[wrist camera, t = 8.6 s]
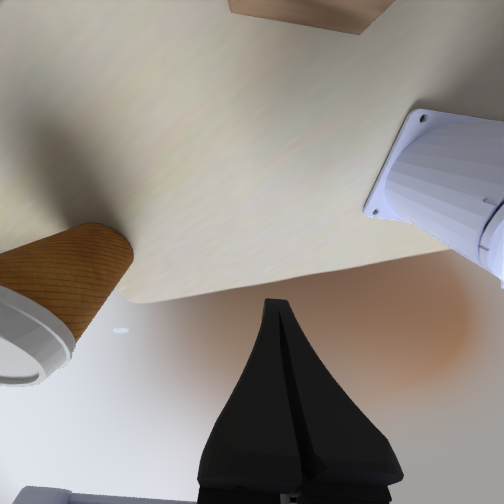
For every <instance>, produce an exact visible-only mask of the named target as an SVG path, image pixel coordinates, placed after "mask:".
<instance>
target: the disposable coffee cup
mask: <svg viewBox="0 0 504 504" xmlns="http://www.w3.org/2000/svg"><path fill="white" fill-rule="evenodd" d="M132 262H133V251H132V249H131V247H130V245H129V243H128V242H127V241H126V239H124V238H123V237H122V236H121V235H120V234H119V233H118V232H116V231H115V230H113V229H111V228H109V227H107V226H105V225H101V224H97V223H86V224H82V225H80V226H77V227H74V228H72V229H69V230H66V231H63V232H60V233H57V234H55V235H52V236H49V237H46V238H43V239H40V240H37V241H35V242H32V243H29V244H26V245H23V246H21V247H18V248H15V249H12V250H9V251H6V252H4V253H1V254H0V385H1V386H9V387H27V386H33V385H37V384H40V383H41V382H43V381H44V380H45V379H46V378H48V377H49V376H50V375H51V374H52V373H53V372H54V371H56V370H58V369H60V368H63V367H65V366H66V365H67V364H68V362H69V361H70V360H71V358H72V353H73V351H74V349H75V347H76V342H77V341H78V339H79V338H80V337H81V335H82V334H83V332H84V331H85V330H86V328H87V326H88V325H89V324H90V323H91V321H92V319H93V318H94V317H95V315H96V314H97V312H98V311H99V310H100V308H101V306H102V305H103V304H104V302H105V301H106V299H107V298H108V296H109V295H110V294H111V292H112V291H113V290H114V288H115V286H116V285H117V284H118V282H119V281H120V279H121V278H122V277H123V275H124V274H125V272H126V271H127V270H128V268H129V267H130V265H131V264H132Z"/></svg>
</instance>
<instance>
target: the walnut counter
mask: <svg viewBox="0 0 504 504" xmlns="http://www.w3.org/2000/svg"><path fill="white" fill-rule="evenodd" d="M394 1H395V0H228V3H229V7H230V11H231V12H232V13H238V14H244V15H249V16H255V17H261V18H266V19H272V20H278V21H283V22H289V23H295V24H300V25H306V26H312V27H317V28H323V29H329V30H334V31H340V32H346V33H351V34H357V35H360V34H361V33H362V32H363V31H364V30H365V29H366V28H367V27H368V26H369V25H370V24H371V23H372V22H373V21H374V20H375V19H376V18H377V17H378V16H379V15H380V14H382V13H383V12H384V11H385V10H386V9H387V8H388V7H389V6H390V5H391V4H392V3H393V2H394Z"/></svg>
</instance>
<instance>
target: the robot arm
mask: <svg viewBox="0 0 504 504" xmlns="http://www.w3.org/2000/svg"><path fill="white" fill-rule="evenodd" d="M422 115H424V119H423V121H422V122H420V117H421V116H422ZM375 209H377V210H376V212H375V213H373V211H374V210H375ZM363 214H364V215H366V216H369V217H376V218H383V219H390V220H397V221H404V222H410V223H411V224H413V225H415V226H416V227H418V228H419V229H421V230H423V231H424V232H426V233H427V234H429V235H431V236H432V237H434V238H435V239H437V240H439V241H440V242H442V243H444V244H445V245H447V246H448V247H450V248H452V249H453V250H455V251H457V252H458V253H460V254H461V255H463V256H464V257H466V258H468V259H469V260H471V261H473V262H474V263H476V264H477V265H479V266H481V267H482V268H484V269H486V270H487V271H489V272H490V273H492V274H493V275H495V276H497V277H498V278H500V280H501V288H503V289H504V121H495V120H489V119H483V118H477V117H471V116H464V115H458V114H452V113H446V112H440V111H434V110H428V109H422V108H420V109H414V110H412V111H411V112H410V113H409V114H408V116H407V118H406V120H405V122H404V124H403V126H402V128H401V130H400V133H399V135H398V137H397V139H396V141H395V143H394V145H393V147H392V149H391V152H390V154H389V156H388V158H387V160H386V162H385V164H384V166H383V169H382V171H381V173H380V175H379V177H378V179H377V181H376V183H375V185H374V188H373V190H372V192H371V194H370V196H369V198H368V200H367V202H366V204H365V207H364V209H363ZM403 477H404V474H403V472H402V469H401V467H400V465H399V462H398V460H397V458H396V455H395V453H394V451H393V449H392V447H391V445H390V443H389V441H388V439H387V438H386V437H385V436H384V435H383V434H382V433H381V432H380V431H379V430H378V429H377V428H376V427H375V426H374V425H373V424H372V422H370V420H369V419H368V418H367V417H366V416H365V415H364V414H363V413H362V411H361V410H360V409H359V408H358V407H357V406H356V405H355V404H354V402H353V401H352V400H351V399H350V398H349V396H348V395H347V394H346V393H345V392H344V390H343V389H342V388H341V387H340V385H338V383H337V382H336V380H335V379H334V378H333V377H332V375H331V374H330V373H329V371H328V370H327V369H326V367H325V366H324V365H323V363H322V362H321V360H320V359H319V357H318V356H317V354H316V353H315V351H314V350H313V348H312V346H311V345H310V343H309V342H308V340H307V338H306V337H305V335H304V333H303V331H302V329H301V327H300V326H299V324H298V322H297V320H296V318H295V316H294V314H293V312H292V309H291V307H290V305H289V302H288V301H287V300H281V299H269V298H267V299H265V302H264V308H263V314H262V323H261V327H260V330H259V333H258V336H257V339H256V342H255V345H254V347H253V350H252V352H251V355H250V357H249V359H248V362H247V364H246V366H245V368H244V370H243V373H242V375H241V377H240V379H239V381H238V383H237V385H236V386H235V388H234V390H233V392H232V394H231V396H230V398H229V400H228V401H227V403H226V405H225V407H224V409H223V410H222V412H221V414H220V415H219V417H218V419H217V421H216V422H215V425H214V427H213V429H212V432H211V434H210V436H209V439H208V441H207V443H206V445H205V448H204V450H203V453H202V456H201V460H200V465H199V471H198V477H197V480H198V482H199V485H200V488H199V494H198V500H197V502H190V501H189V502H188V501H176V500H162V499H148V498H135V497H119V496H107V495H93V494H79V493H72V491H69V490H65V489H59V488H48V487H34V486H26V487H24V488H23V489H22V490H21V491H20V493H19V494H18V496H17V497H16V499H15V500H14V502H13V503H12V504H389V502H391V501H392V498H391V495H390V492H389V490H388V487H387V486H388V485H391V484H394V483H397V482H399V481H401V480H402V479H403ZM280 497H281V498H280Z"/></svg>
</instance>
